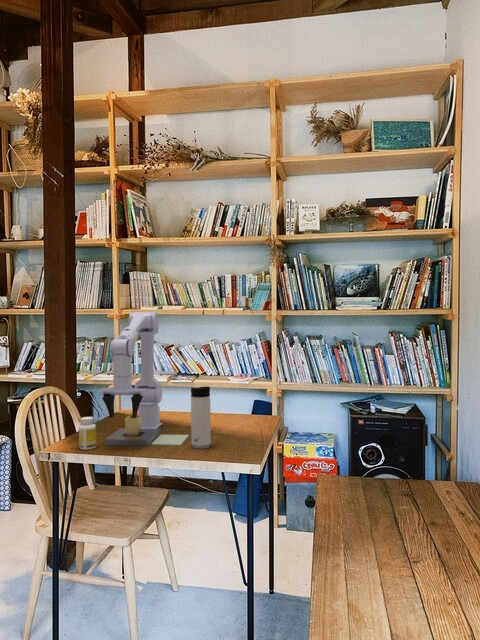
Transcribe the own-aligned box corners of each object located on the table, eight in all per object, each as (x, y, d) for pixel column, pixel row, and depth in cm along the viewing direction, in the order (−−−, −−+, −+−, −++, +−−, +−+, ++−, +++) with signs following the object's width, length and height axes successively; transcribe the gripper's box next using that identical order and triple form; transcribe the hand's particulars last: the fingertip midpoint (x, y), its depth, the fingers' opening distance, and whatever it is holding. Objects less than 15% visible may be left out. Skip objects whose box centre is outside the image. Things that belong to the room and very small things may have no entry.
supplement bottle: (99, 445, 170) (98, 416, 170) (92, 450, 165) (92, 419, 164) (83, 445, 171) (82, 416, 170) (76, 449, 165) (75, 419, 165)
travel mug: (196, 450, 163) (195, 387, 162) (188, 445, 169) (187, 385, 168) (214, 447, 166) (213, 386, 165) (206, 442, 172) (205, 383, 171)
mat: (160, 435, 182) (160, 434, 182) (188, 436, 181) (188, 435, 181) (151, 445, 170) (151, 443, 170) (180, 445, 169) (180, 444, 169)
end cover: (129, 438, 179) (129, 413, 179) (141, 438, 179) (141, 413, 178) (125, 441, 175) (124, 416, 175) (137, 441, 174) (137, 416, 174)
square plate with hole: (120, 433, 185) (120, 428, 185) (160, 434, 183) (160, 429, 183) (104, 445, 170) (104, 439, 170) (148, 446, 168) (148, 440, 168)
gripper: (96, 377, 163) (97, 419, 163) (140, 377, 161) (141, 420, 162) (104, 374, 170) (105, 414, 170) (146, 374, 168) (147, 415, 169)
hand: (123, 417), depth 166 cm, fingers open, 7 cm apart
